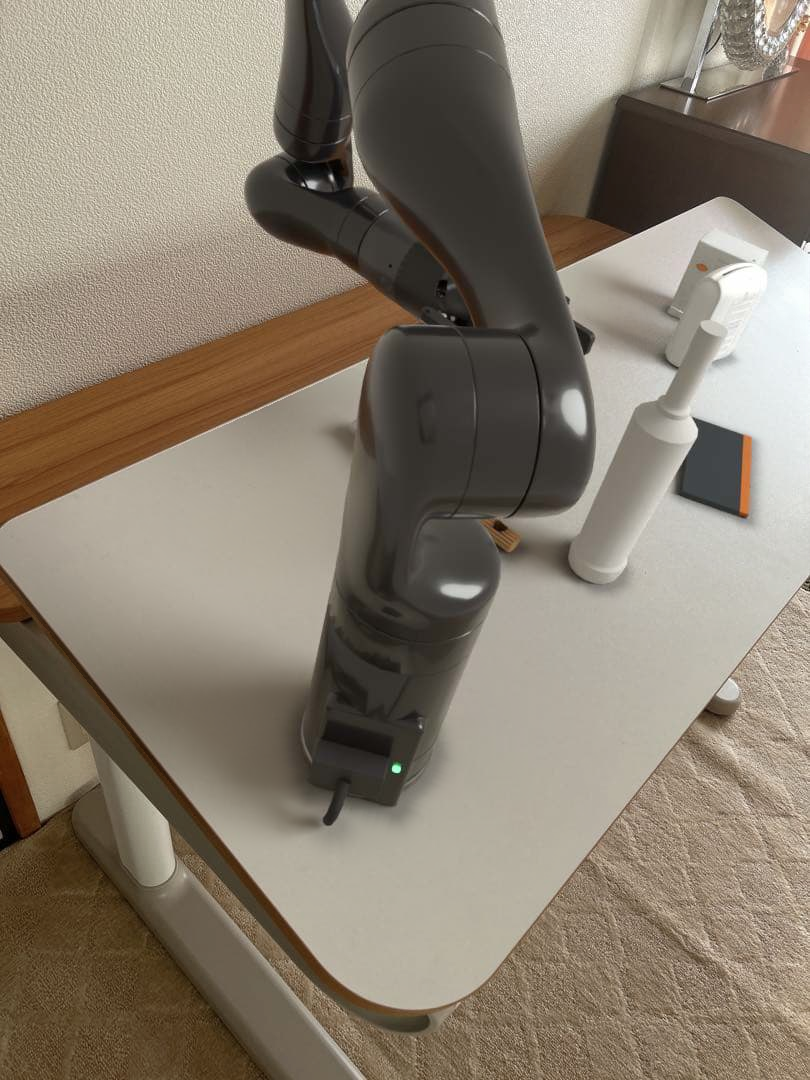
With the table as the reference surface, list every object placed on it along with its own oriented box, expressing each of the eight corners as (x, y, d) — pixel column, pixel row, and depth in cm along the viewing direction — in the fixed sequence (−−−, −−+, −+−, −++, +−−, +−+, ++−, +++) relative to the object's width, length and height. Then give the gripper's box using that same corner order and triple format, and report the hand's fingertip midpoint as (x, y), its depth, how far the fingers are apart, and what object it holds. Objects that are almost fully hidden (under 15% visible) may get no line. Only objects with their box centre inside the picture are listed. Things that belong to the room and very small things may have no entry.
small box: (733, 323, 118) (771, 251, 111) (721, 339, 114) (760, 265, 107) (678, 298, 120) (712, 225, 113) (665, 313, 116) (699, 239, 109)
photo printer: (708, 338, 114) (753, 250, 105) (733, 357, 112) (781, 268, 103) (657, 354, 108) (700, 263, 100) (682, 374, 106) (728, 282, 98)
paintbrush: (375, 400, 86) (531, 526, 79) (369, 421, 88) (521, 546, 81) (346, 413, 83) (505, 544, 76) (341, 435, 85) (496, 565, 78)
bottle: (579, 588, 78) (701, 349, 60) (556, 545, 81) (666, 307, 63) (630, 583, 79) (763, 349, 62) (605, 541, 83) (725, 308, 65)
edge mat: (746, 518, 89) (749, 514, 89) (679, 495, 90) (682, 490, 89) (749, 441, 99) (752, 437, 99) (689, 420, 100) (691, 416, 99)
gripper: (371, 247, 72) (523, 348, 66) (481, 212, 81) (624, 299, 75) (357, 326, 77) (496, 426, 71) (461, 285, 86) (593, 372, 80)
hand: (561, 361), depth 73 cm, fingers open, 8 cm apart
